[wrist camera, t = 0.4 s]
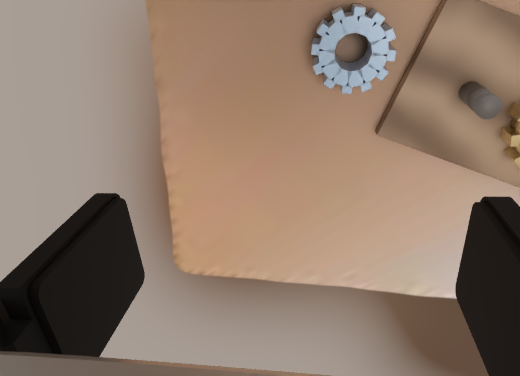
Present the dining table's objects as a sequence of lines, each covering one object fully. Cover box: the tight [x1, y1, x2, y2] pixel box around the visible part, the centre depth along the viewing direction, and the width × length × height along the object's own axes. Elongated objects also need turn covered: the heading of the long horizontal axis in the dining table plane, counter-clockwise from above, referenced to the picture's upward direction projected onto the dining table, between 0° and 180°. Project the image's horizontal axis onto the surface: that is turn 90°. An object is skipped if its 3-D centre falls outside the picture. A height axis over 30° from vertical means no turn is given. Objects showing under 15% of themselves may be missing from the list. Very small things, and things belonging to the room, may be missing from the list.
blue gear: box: [311, 4, 396, 94], centre depth 36 cm, size 7×7×4 cm
